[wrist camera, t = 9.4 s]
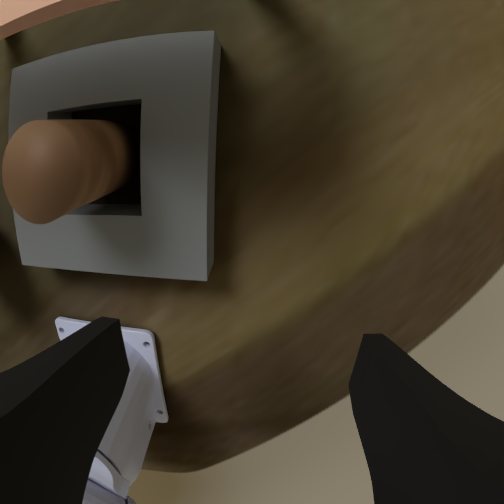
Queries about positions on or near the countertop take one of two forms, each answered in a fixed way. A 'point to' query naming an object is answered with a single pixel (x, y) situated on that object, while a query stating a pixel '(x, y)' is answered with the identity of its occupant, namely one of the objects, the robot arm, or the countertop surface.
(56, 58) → the socket
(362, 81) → the countertop surface
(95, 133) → the peg
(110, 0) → the orange bridge
